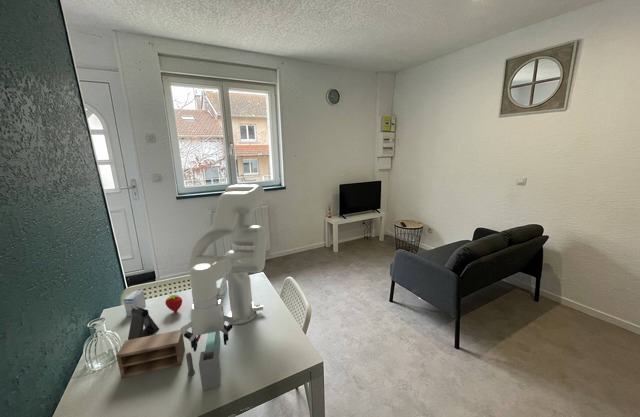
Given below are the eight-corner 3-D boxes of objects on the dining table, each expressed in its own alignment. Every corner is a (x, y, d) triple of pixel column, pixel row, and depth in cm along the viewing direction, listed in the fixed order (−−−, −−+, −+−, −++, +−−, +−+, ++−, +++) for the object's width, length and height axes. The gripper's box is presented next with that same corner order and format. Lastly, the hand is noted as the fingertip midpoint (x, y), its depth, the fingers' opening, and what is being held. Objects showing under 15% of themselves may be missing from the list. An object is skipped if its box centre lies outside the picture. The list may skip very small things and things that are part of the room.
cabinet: (199, 347, 99) (197, 326, 97) (194, 374, 87) (191, 351, 85) (129, 362, 92) (125, 340, 91) (113, 394, 80) (107, 370, 78)
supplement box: (202, 289, 141) (200, 274, 139) (227, 287, 143) (225, 271, 141) (193, 308, 124) (190, 290, 122) (222, 304, 127) (220, 287, 125)
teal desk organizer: (219, 386, 82) (216, 359, 80) (202, 390, 81) (198, 364, 79) (223, 337, 104) (220, 315, 102) (210, 340, 102) (207, 318, 100)
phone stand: (137, 344, 101) (132, 317, 99) (127, 340, 104) (122, 313, 101) (159, 329, 109) (154, 304, 107) (149, 326, 112) (145, 301, 109)
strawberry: (177, 316, 118) (174, 297, 115) (163, 315, 119) (160, 295, 117) (187, 309, 123) (184, 290, 121) (173, 307, 125) (170, 288, 123)
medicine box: (136, 306, 126) (133, 290, 124) (146, 305, 127) (143, 289, 125) (126, 316, 119) (122, 299, 117) (136, 315, 119) (133, 298, 117)
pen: (194, 344, 101) (194, 341, 101) (209, 314, 119) (208, 312, 119) (196, 344, 101) (196, 341, 101) (211, 314, 120) (210, 312, 119)
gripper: (233, 290, 92) (237, 333, 95) (179, 299, 87) (185, 343, 91) (232, 301, 85) (236, 347, 88) (174, 311, 80) (180, 359, 83)
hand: (210, 345), depth 89 cm, fingers open, 9 cm apart
